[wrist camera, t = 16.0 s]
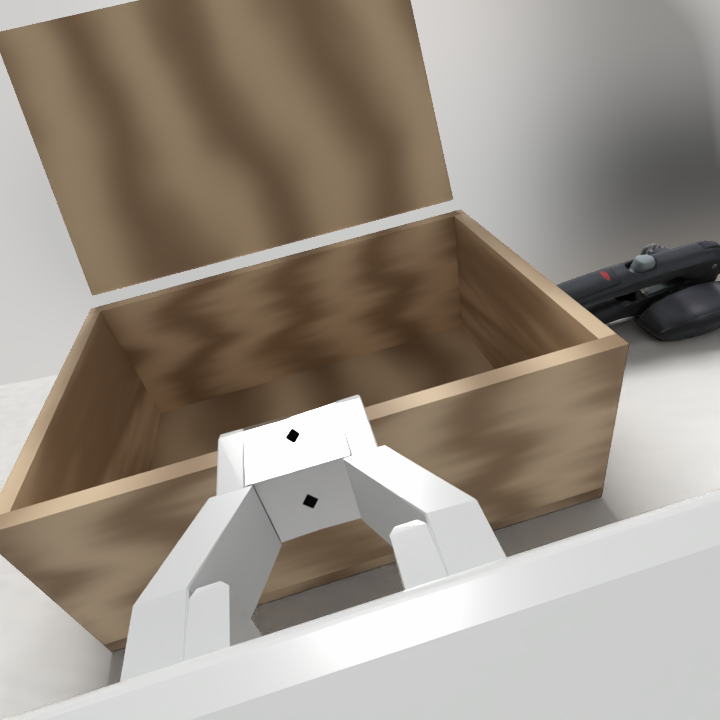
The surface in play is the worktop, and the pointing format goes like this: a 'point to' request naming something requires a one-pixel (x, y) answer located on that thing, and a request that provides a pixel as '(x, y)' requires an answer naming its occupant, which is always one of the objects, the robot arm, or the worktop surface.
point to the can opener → (657, 290)
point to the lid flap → (225, 126)
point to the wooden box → (309, 404)
